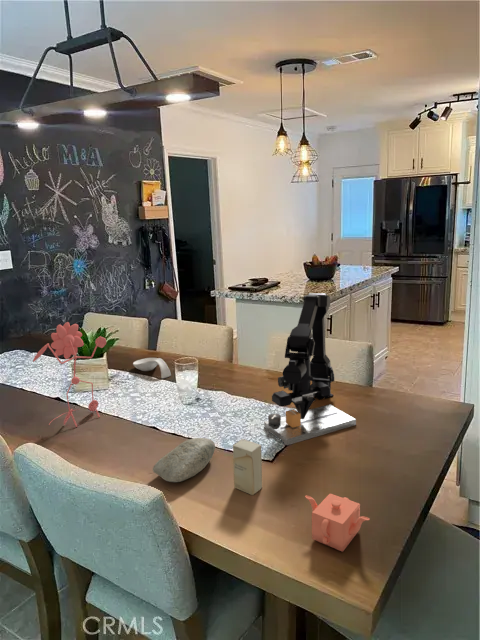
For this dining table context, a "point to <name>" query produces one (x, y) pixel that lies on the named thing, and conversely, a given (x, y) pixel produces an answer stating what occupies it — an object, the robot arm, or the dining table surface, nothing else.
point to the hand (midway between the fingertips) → (302, 418)
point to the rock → (185, 460)
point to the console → (312, 424)
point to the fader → (293, 418)
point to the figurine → (67, 345)
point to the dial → (274, 419)
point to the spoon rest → (153, 366)
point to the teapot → (335, 521)
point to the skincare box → (247, 466)
